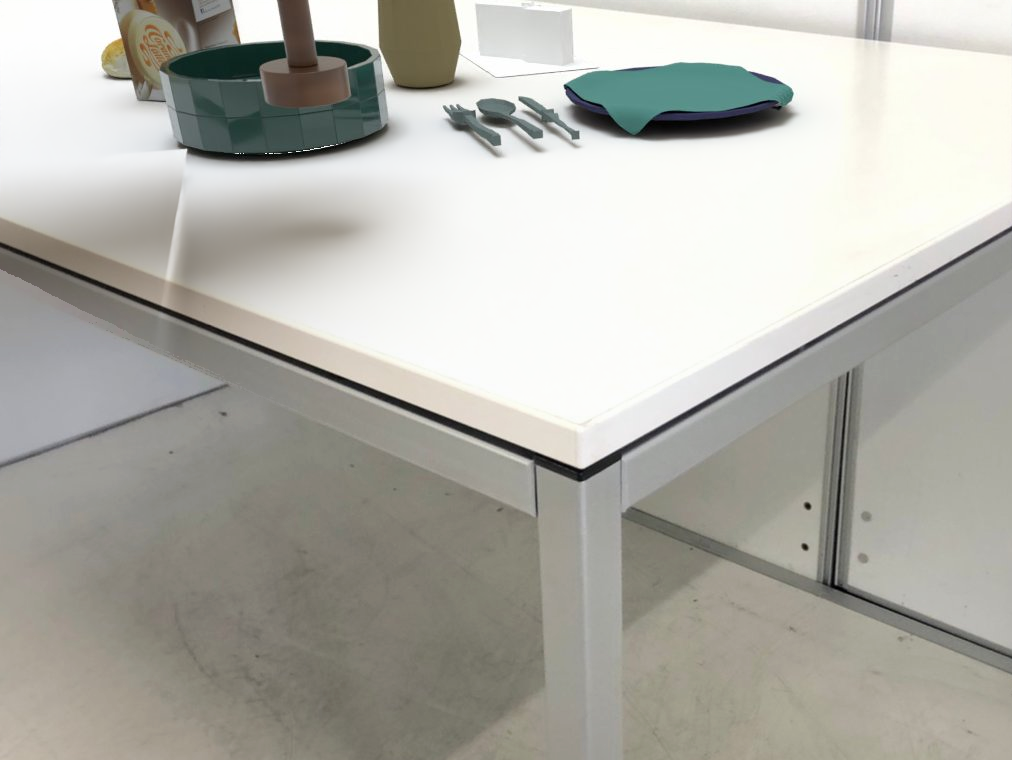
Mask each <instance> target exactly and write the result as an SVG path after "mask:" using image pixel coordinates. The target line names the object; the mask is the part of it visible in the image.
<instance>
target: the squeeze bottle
mask: <svg viewBox="0 0 1012 760" xmlns="http://www.w3.org/2000/svg"><path fill="white" fill-rule="evenodd" d="M377 23H378V27H377V28H378V48H379V50H380V52H381V56H382V57H383V59H384V62H385V63H386V66H387V68H388V70H389V73H390V75H391V77H392V80H393V81H394V83H395V84H396V85H398V86H402V87H407V88H415V89H416V88H417V89H419V88H420V89H422V88H423V89H424V88H425V89H426V88H434V87H439V86H444V85H447V84H450V83H452V82H454V80H455V76H456V71H457V67H458V62H459V56H460V52H461V47H462V36H461V31H460V26H459V21H458V14H457V10H456V4H455V0H377Z"/></svg>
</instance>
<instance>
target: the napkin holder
mask: <svg viewBox="0 0 1012 760" xmlns="http://www.w3.org/2000/svg"><path fill="white" fill-rule="evenodd" d="M474 6H475V16H476V19H475V20H476V31H477V42H478V50H474V51H473V50H471V51H460V52H459V55H461V56H462V57H464V58H466V59H467V60H469V61H470V62H472V63H474V65H477V66H478V67H480V68H481V69H483V70H484V71H486V72H487V73H489V74H490V75H492V76H494V77H495V78H505V77H514V76H515V77H516V76H525V75H535V74H546V73H556V72H557V73H558V72H568V71H575V70H576V71H577V70H586V69H597V68H600V67H599V66H597V65H595V64H593V63H591V62H588V61H587V60H586V59H583V58H580V57H578V56H577V55H575V53H574V32H573V31H574V30H573V8H571V7H557V6H545V5H544V6H542V4H541V3H535V2H534V1H522V2H514V1H500V0H499V1H498V0H485V1H480V2H476V3H475V4H474Z"/></svg>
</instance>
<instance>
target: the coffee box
mask: <svg viewBox="0 0 1012 760" xmlns="http://www.w3.org/2000/svg"><path fill="white" fill-rule="evenodd" d="M111 1H112V2H111V3H112V5H113V10H114V13H115V18H116V21H117V26H118V29H119V30H118V31H119V33H120V38H122V42H123V46H124V50H125V54H126V58H127V61H128V65H129V69H130V73H131V77H132V78H131V82H132V85H133V88H134V89H133V90H134V93H135V97H136V99H137V101H138V100H139V101H143V100H144V101H157V102H158V101H160V102H166V99H165V95H164V90H163V86H162V81H161V77H160V73H159V69H160V66H161V63H163V62H165V61H167V60H169V59H171V58H173V57H175V56H179V55H182V54H186V53H189V52H193V51H197V50H202V49H208V48H213V47H219V46H225V45H233V44H242V42H241V37H240V33H239V27H238V23H237V17H236V13H235V12H236V11H235V6H234V3H233V2H234V1H233V0H111Z"/></svg>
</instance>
